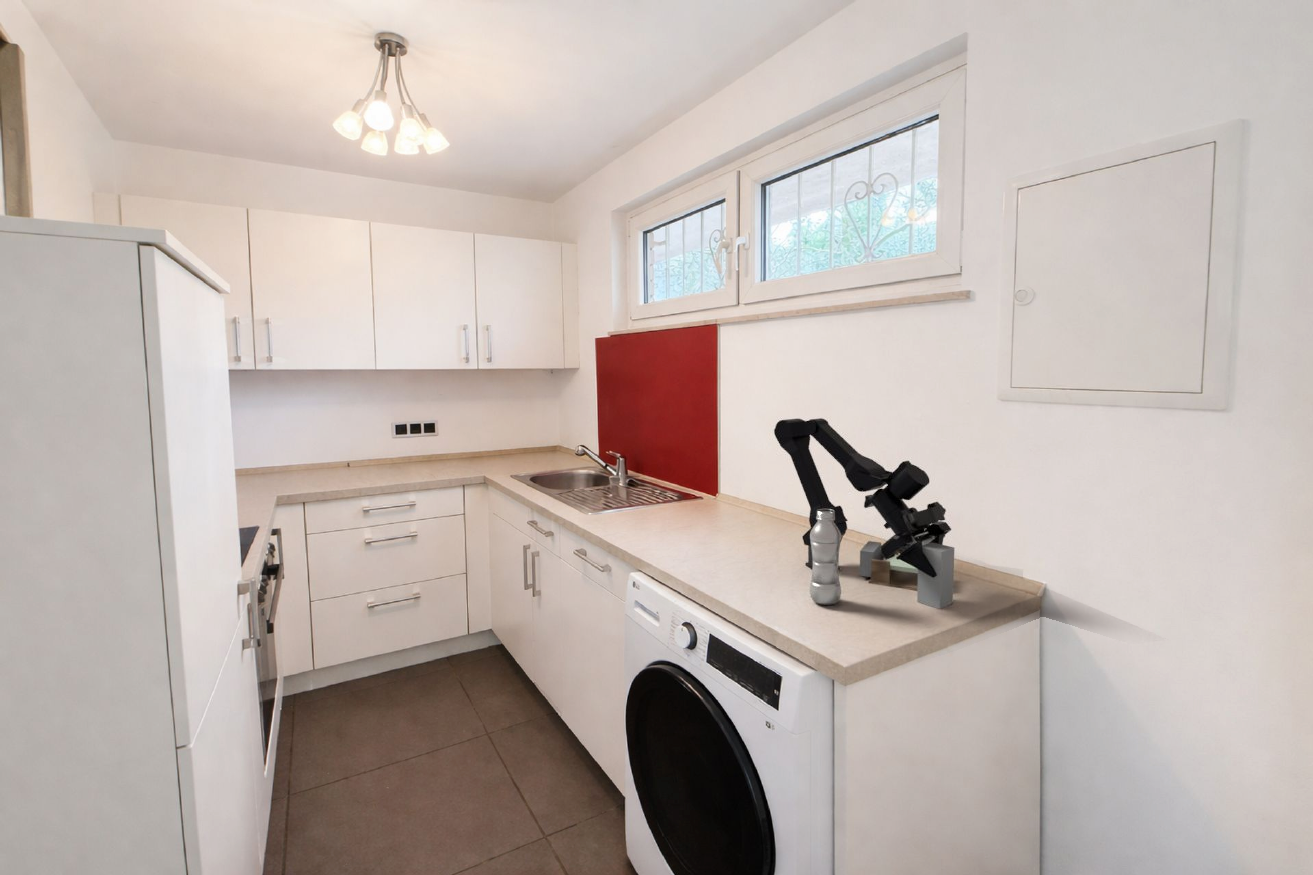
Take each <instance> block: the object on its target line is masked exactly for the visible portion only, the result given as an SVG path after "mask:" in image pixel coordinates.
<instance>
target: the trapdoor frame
mask: <svg viewBox="0 0 1313 875" xmlns="http://www.w3.org/2000/svg"><path fill="white" fill-rule="evenodd" d="M898 551H899V550H898ZM898 551H896V552H895V554H896V555H900V554H899V552H898ZM883 559H884V556H883V555H882V554H881V560H876V559H872V560H871V577H869V580H868V584H872V585H873V584H874V585H881V586H885V587H893V588H900V589H906V590H912V591H917V588H918V573H912V572H904V571H897V570H890V561H884V560H883Z"/></svg>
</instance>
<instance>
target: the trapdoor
mask: <svg viewBox="0 0 1313 875" xmlns="http://www.w3.org/2000/svg"><path fill="white" fill-rule="evenodd" d="M881 546H882V542H880V541H871V540H868V541H867V542H866V543H865V544H864V545H863V547H862V548H861V549H860V550H859V551H860V552H859V576H861V577H867V578H871V560H872V559H876V560H881ZM899 555H900V554H899ZM899 555H896V554H895V556H894V557H892V558H889V559H885V558H884V559H883V560H884V561H890V570H897V571H904V572H912V573H918V569H917V568H915V567H913V566H911V565H909V564H908V563H906V562H904V561H902V560H900V559H899V560H897V559H896V557H897V556H899Z"/></svg>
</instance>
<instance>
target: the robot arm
mask: <svg viewBox="0 0 1313 875" xmlns="http://www.w3.org/2000/svg"><path fill="white" fill-rule="evenodd" d="M774 427H775V428H773V433H774V436H775V438H776V440H777V442H778V444H779V445H780V447H781V448H782V449H783V450H784V451H785V452H786V453H787V454H788V455H789V457H790V458H791V460H792V464H793V466H794V469H795V471H796V473H797V477H798V479H799V482H800V484H801V486H802V489H803V492H804V494H805V498H806V500H807V503H808V504H809V508H810V510H809V517H808V522H809V525H810V528H809V530H807V531H806V532H805V533H804V534H803V535H802V540H803V544H804V546H807V549H808V551H807V554H808V558H807V560H808V561H806V562H805V564H804V565H805V566H806V567H808V568H809V569H811V570H812V569H813V559H812V548H811V541H810V533H811V530H812V528H813V527H814V526H815V524H816V523H817V521H818V520H817V519H816V516H817V510H819V509H832V510H834V512H835V520H834V523H835V525H836V526H837V527H838V529H839V531H840V534H841V541H842V540H843V537H844V536H845V534H846V533H847V530H848V524H847V522H848V519H847V518H846V516H845V514H844V510H843V507H842V506H841V505H836V506H835V505H834V504H833V503H832V502H831V501H830V499H829V496H828V493H827V491H826V488H825V486H824V484H823V481H822V479H821V475H820V474H819V471H818V468H817V466H816V463H815V461H814V458H813V455H812V453H811V450H810V443H811V442H810V441H811V437H812V438H814V439H815V441H816V442H817V443H818V444H819V445H821V446H822V448H823V449H824V450H825V451H826V452H827V453H829V455H830V456H831V457H832V458H833V459H834V460H836V462H837V463H839V465H840V466H841V467H842V468H843V469H844V474H845V477H846V479H847V480H848V481H849V482H850V484H851V485H852V487H853V488H854V489H855V490H856V491H858V492H862V493H863V492H865V493H866V492H871V491H874V490H876V491H875V492H873V493H872V494H868V495H865V496H864V497H865V498H864V502H863V508H864V509H867V508H872V507H874V508H875V509H876V510H877V512H878V513H879V515H880V516H881V517H882V518H883V520H884V521H885V524H883V527H884V528H885V529H886V530H887V529H891V531H892V532H893V534H894V535H893V536H891V537H890V538H888V539H887V541H885V542H884V543H882V544H881V554H882V555H883V556H884V558H885V559H889V558H892V557H894V556H895V552H896V551H898V550H899V551H898V552H899V556H897V557H896V559H897V560H899V559H900V560H902V561H904V562H906V563H908V564H909V565H911V566H913V567H915V568H917V569H918V570H920V571H922V572H924V573H925V574H927V575H929V576H930V577H932V578H934V577H935V576H937V574H936V572H935V570H934V568H933V567H932V565H931V564H930V562H929V561H928V559H927V557H926V556H925V554H924V553H923V551H922V545H925V544H928V543H931V542H932V543H937V544H941V545H944V538H945V537H946V535H947V534H948V533H949V532H950V531H952V528H951V526H949V523H947V522H945V520H946V518H945V514H946V510H947V509H946V508H945V507H943V505H942V504H940V503H939V502H938V501H935V502H931V503H927V505H926V507H927V508H926V509H923V510H918V509H917V508H915V507H909V506H908V505H907V504H906V502H905V501H910V500H912V499H913V498H914V497H915V496H917V495H918V494H919V493H920V492H921V491H922V490H924V488H926V487H927V486H928V485H929V483H930V477H929V476H928V474H927V472H926V471H925V470H923V469H922V468H920V467H919V466H917V465H914V464H912V463H911V461H909V460H905V461H902V462H901V463H900V464H899V465H898V467H896V469H895V470H894V471H890V470H886V469H885V468H884V466H883V465H881V464H879V463H878V462H877V461H874V460H873V459H872V458H869V457H866V456H864V455H863V454H861V453H860V452H858V450H856V449H855V448H854V447H853V446H852V445H851V444H850V443H849V442H848V441H847V440H845V439H844V438H843V436H841V435H840V433H838V431H836V430H835V429H834V428H833V426H831V425H830V423H829V421H828V420H826V419H825V418H820V417H819V418H812V419H809V420H804V419H802V418H790V419H781V420H779V421H777V422H776V424H775V426H774ZM885 485H886V486H885ZM884 486H885V487H884ZM883 487H884V488H883ZM839 560H840V559H839ZM839 560H838V571H841V567H839V564H840V563H839Z"/></svg>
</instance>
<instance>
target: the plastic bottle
mask: <svg viewBox="0 0 1313 875" xmlns="http://www.w3.org/2000/svg"><path fill="white" fill-rule="evenodd" d="M816 519H817V520H818V521H817V523H816V524H815V526H814V527H813V528H812V530H811V533H810V541H811V548H812V559H813V569H811V580H810V585H809V594H810V598H811V599H812V601H813V602H814V603H816V604H819V605H824V606H825V605H826V606H829V605H830V606H831V605H835V604H838V602H839V601H840V599H841V595H842V589H841V588H842V586H841V583H840V573H839V571H840V570H838V567H839V565H838V560H840V559H839V557H840V556H839V555H840V550H841V549H840V548H841V543H842V540H841V534H840V531H839V529H838V527H837V526H836V525H835V523H834V520H835V512H834V510H832V509H819V510H817V516H816Z"/></svg>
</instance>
